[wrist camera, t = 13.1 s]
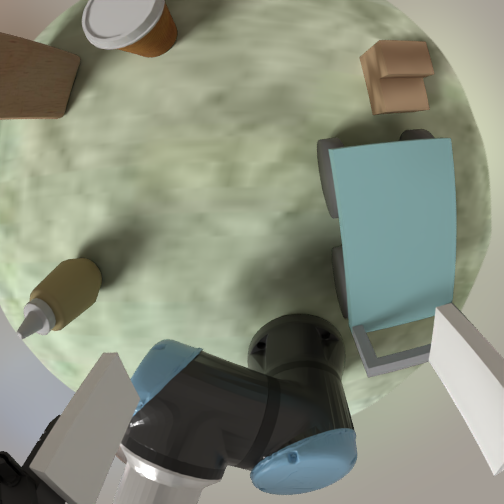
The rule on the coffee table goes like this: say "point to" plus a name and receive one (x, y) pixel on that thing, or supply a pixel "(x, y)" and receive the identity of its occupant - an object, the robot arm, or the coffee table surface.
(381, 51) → the block
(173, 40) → the disposable coffee cup
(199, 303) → the coffee table surface
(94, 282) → the squeeze bottle
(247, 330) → the coffee table surface
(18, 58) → the block
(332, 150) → the trolley
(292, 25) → the coffee table surface
